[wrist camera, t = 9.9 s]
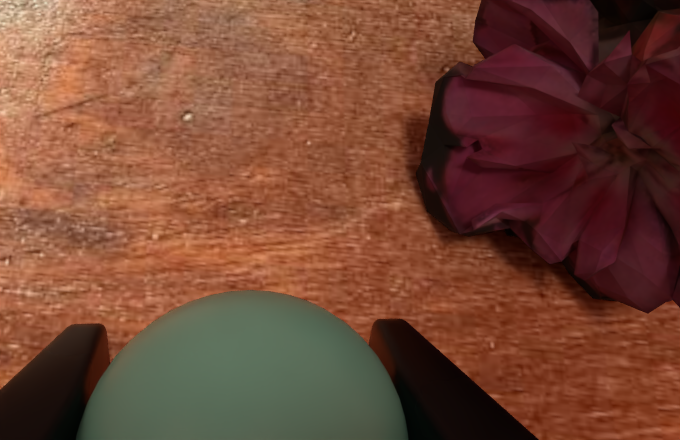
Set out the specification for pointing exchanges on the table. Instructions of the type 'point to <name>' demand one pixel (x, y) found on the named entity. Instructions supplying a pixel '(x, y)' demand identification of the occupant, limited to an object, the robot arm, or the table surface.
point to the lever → (245, 377)
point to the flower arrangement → (567, 141)
